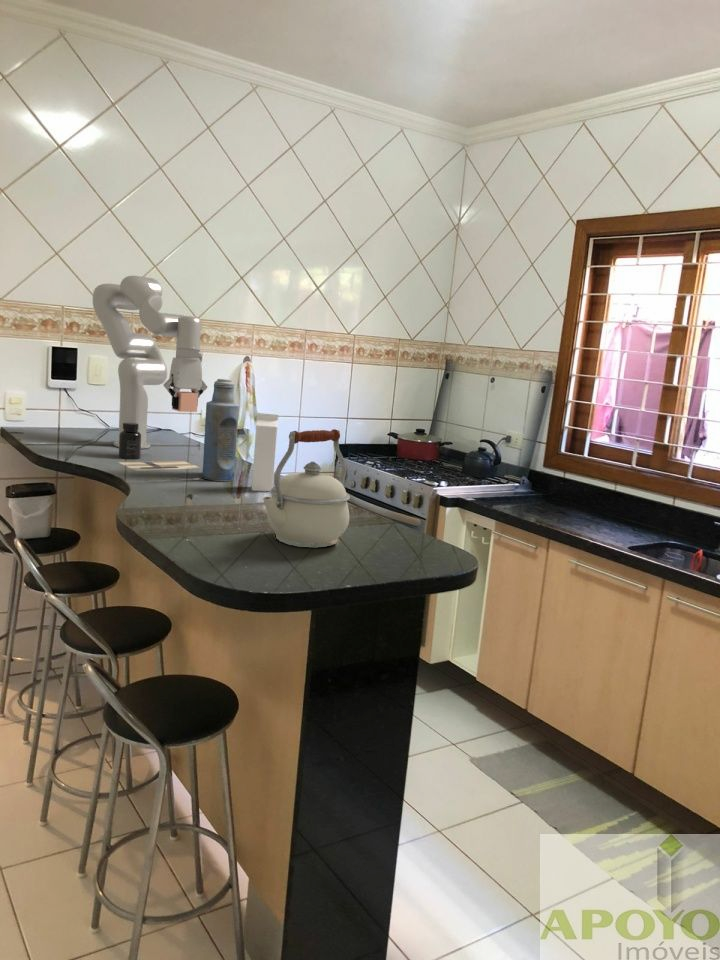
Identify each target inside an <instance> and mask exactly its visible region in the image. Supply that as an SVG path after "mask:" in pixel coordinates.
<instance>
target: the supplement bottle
mask: <svg viewBox="0 0 720 960" xmlns="http://www.w3.org/2000/svg"><path fill="white" fill-rule="evenodd" d="M138 429H139V428H138V424H137V423H123V431H122V432H120V434H119V433H118V434H119V436H118V438H119V447H118V458H119V459H120V460H121V459H123V460H130V461H131V460H135V461H136V460H140V459H141V455H142V454H141V453H142V451H141V450H142V449H141V434H140V432H138Z"/></svg>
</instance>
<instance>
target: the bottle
mask: <svg viewBox="0 0 720 960" xmlns="http://www.w3.org/2000/svg"><path fill="white" fill-rule="evenodd" d="M234 391H235V383H234V382H233V381H232V380H231V379H227V378H226V379H225V378H217V379H216V381H214V383H213V393H212V396H211V397H212V398H211V400H210V401H206V405H205V420H204V422H205V424H204V439H203V440H204V441H203V456H202V475H201V476H203V477H202V478H203V479H205V480H207V481H208V480H209V481H213V482H229V481H233V480H234V479H235V470H236V462H237V461H236V459H237V458H236V457H237V443H238V428H239V426H238V425H239V412H240V405H239V403H235V402H234V401H235V395H234Z"/></svg>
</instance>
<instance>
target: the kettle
mask: <svg viewBox="0 0 720 960" xmlns="http://www.w3.org/2000/svg"><path fill="white" fill-rule="evenodd" d="M288 439H289V441H288V443H289V444H288V447H287V450H286V452H285V454H284V456H283V457H282V459H280V461H279V464H278V465H277V467H276V469H275V470H274V477H273V485H274V486H273V488H271V490H270V493H271V495H272V496H264V497H262V500H263V504H264V506H265V510H266V518H267V522H268V524H269V526H270V528H271V529H272V531H273V532H274V533H275V534H276V536H277V537H279V538H280V539H284V540H287V541H293V542H302V543H324V542H330V541H333V540H336V539H338V538H340V536H342V535H343V534H344V532H345V531H346V530H347V529H348V527H349V523H350V511H349V504H348V501H349V500H350V498H351V496H350V494H349V493H347V491H346V488H345V486H344V482H345V481H346V480H345V479H346V474H347V464H346V461H345V459H344V456H343V454H342V451H341V450H340V445H339V444H340V439H341V433H340V429H339V430H338V429H335V428H334V429H333V428H332V429H331V430H326V429H320V430H319V429H318V430H314V429H313V430H304V431H297V430H293V431H292V430H291V431H289V435H288ZM328 441H332V442H333V450H334V451H335V454H336V456H337V458H338V460H339V463H340V475H339V479H336V478H335V477H333V476H331V475H328V474H324V473H320V471H322V468H321V466H320V465H319V464H318V463H317V462H315V461H310V462H307V464H305V465H304V466H303V469H304V471H297V472H293V473H288V474H286V475H284V476H282V477H281V473H282V470H283V469H284V467H285V465H286V464H287V462H288V460H289V459H290V458H291V456H292V454H293V452H294V449H295V444H298V443H299V442H300V443H322V442H323V443H324V442H328Z"/></svg>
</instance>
